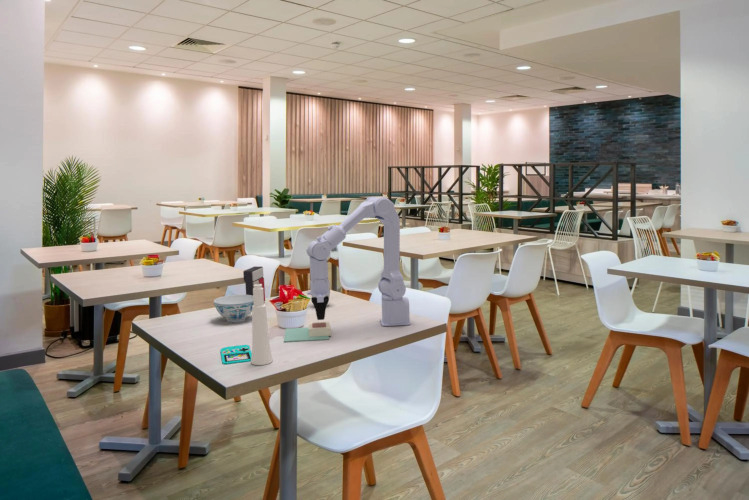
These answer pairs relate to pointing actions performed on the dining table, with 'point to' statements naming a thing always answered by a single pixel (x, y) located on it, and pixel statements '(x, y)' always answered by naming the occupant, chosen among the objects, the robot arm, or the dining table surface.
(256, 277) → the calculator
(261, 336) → the cosmetic bottle
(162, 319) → the dining table surface
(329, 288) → the cup
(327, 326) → the card box
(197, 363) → the dining table surface
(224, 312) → the chinaware
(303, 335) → the mat
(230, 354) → the handheld gaming console
